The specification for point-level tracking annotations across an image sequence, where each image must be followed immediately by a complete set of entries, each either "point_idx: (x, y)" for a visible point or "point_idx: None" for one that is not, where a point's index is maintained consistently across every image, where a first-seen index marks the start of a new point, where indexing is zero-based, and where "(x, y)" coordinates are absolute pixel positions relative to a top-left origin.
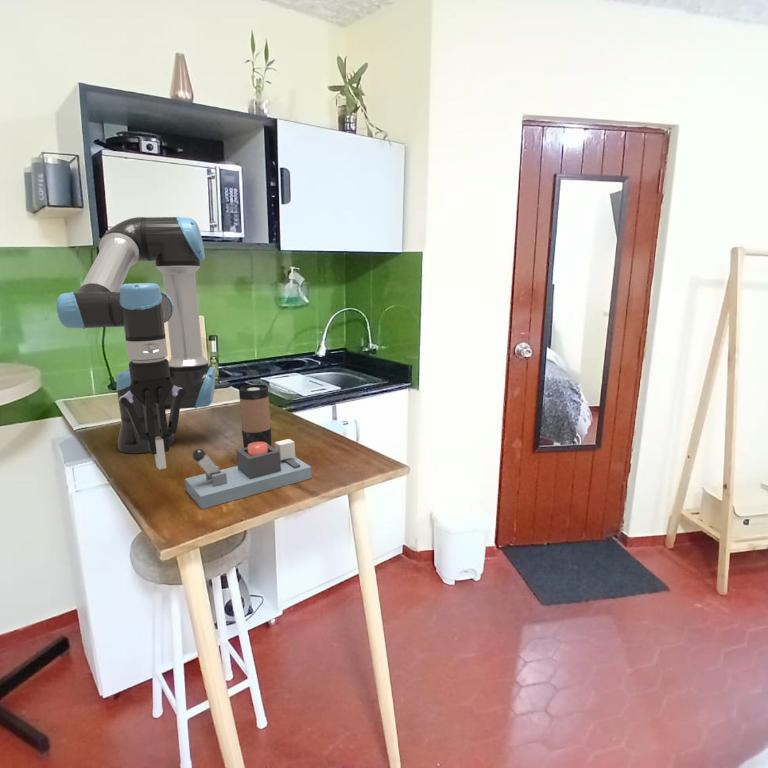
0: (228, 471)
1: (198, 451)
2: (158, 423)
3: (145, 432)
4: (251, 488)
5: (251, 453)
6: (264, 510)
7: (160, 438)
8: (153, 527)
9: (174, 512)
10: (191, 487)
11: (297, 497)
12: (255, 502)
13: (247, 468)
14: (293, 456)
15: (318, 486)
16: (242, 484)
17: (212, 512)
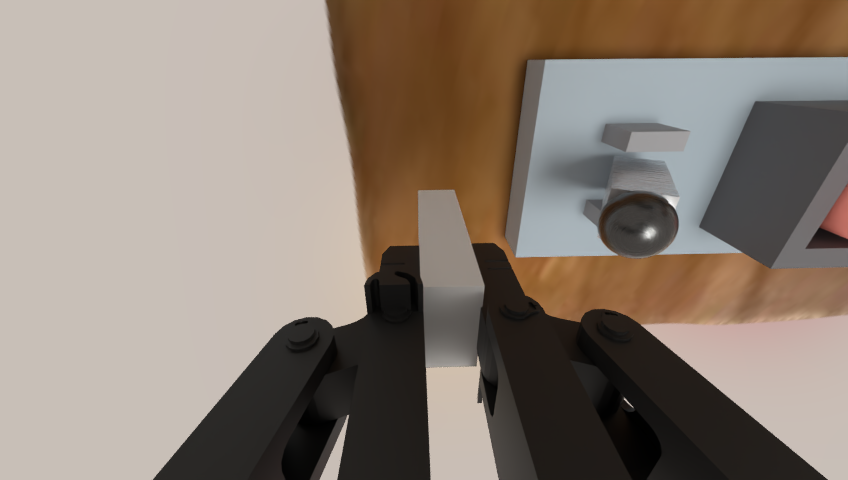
0: (712, 103)
1: (639, 254)
2: (516, 412)
3: (351, 368)
4: None
5: (838, 221)
6: None
7: (467, 339)
8: (372, 260)
9: None
10: (528, 158)
11: (707, 306)
12: (624, 276)
13: (736, 226)
14: None
15: (794, 284)
16: None
17: (517, 266)
